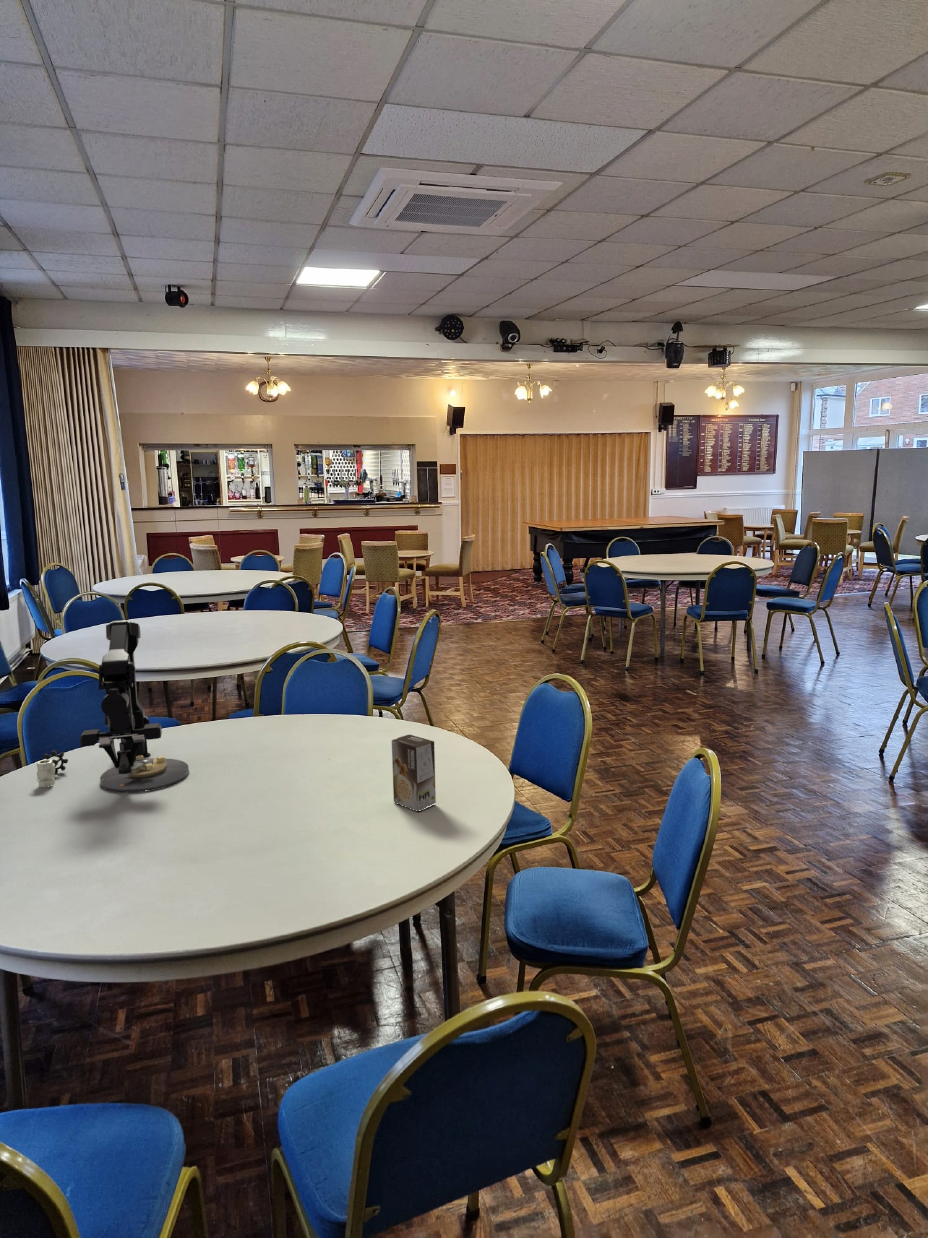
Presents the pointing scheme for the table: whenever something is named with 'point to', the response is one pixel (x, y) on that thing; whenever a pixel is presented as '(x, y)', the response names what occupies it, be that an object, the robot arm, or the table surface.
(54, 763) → the valve
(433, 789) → the coffee box
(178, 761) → the base plate
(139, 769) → the cheese board
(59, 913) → the table surface
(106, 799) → the table surface
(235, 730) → the table surface
